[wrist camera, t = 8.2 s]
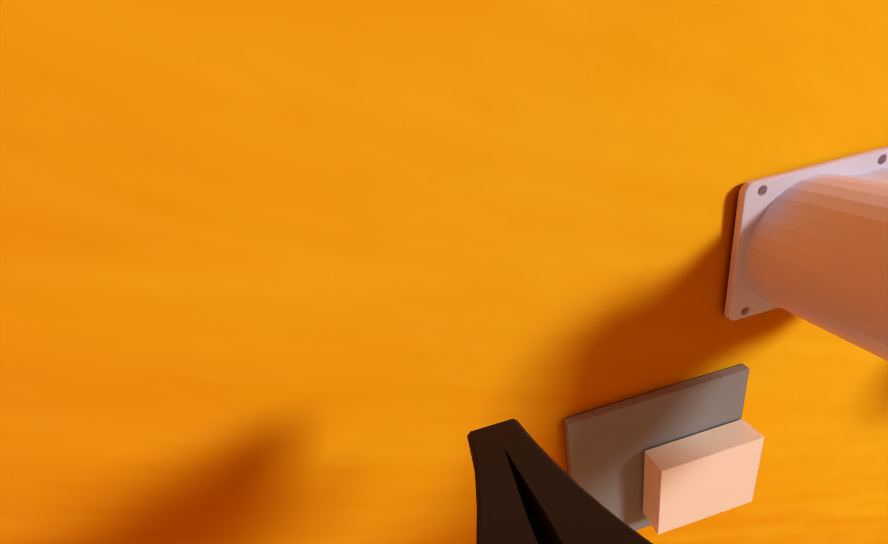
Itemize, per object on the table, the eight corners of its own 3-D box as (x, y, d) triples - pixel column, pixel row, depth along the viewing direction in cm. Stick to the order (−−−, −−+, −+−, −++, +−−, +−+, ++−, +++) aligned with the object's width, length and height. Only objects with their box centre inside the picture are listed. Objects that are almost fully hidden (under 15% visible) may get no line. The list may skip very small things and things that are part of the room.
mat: (742, 363, 26) (749, 368, 26) (723, 492, 31) (728, 498, 31) (563, 418, 25) (567, 424, 24) (573, 544, 30) (577, 550, 29)
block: (642, 449, 27) (740, 417, 27) (641, 510, 29) (730, 479, 30) (661, 471, 25) (764, 436, 26) (658, 534, 28) (751, 501, 28)
